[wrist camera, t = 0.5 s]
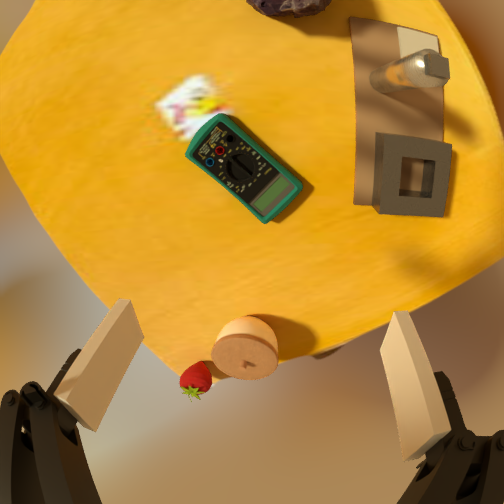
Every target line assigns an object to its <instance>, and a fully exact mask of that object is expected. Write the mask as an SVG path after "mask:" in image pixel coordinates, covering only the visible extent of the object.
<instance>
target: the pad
mask: <svg viewBox="0 0 504 504" xmlns="http://www.w3.org/2000/svg"><path fill="white" fill-rule="evenodd" d="M397 31H398V38H399V47H400V56H401V58H402V57H405V56H407V55H410V54H412V53H415V52H417V51H420V50H423V49H432V50H435V51H437V52H438V53H439V49H438V41H437V37H435V36H432V35H429V34H425V33H422V32H418V31H414V30H411V29H407V28H402V27H397Z"/></svg>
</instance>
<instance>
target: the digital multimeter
mask: <svg viewBox="0 0 504 504" xmlns="http://www.w3.org/2000/svg"><path fill="white" fill-rule="evenodd" d="M225 124H226V125H225ZM231 129H232V130H231ZM210 131H211V132H210ZM237 134H238V135H237ZM244 140H245V141H244ZM200 143H201V144H200ZM252 147H253V148H252ZM247 154H248V155H247ZM260 154H261V155H260ZM185 156H186V158H188V159H189V160H190V161H192V162H193V163H194V164H196V165H197V166H198V167H200V168H201V169H202V170H204V171H205V172H206V173H207V174H209V175H210V176H211V177H212V178H214V179H215V180H216V181H217V182H218V183H220V184H221V185H222V186H223V187H224V188H226V189H227V190H228V191H229V192H230V193H231V194H232V195H233V196H235V197H236V198H237V199H238V200H239V201H240V202H241V203H242V204H243V205H244V206H245V207H246V208H247V209H249V210H250V211H251V212H252V213H253V214H254V215H255V216H256V217H257V218H258V219H259V220H260V221H261V222H262V223H264V224H267V223H268V222H269V221H271V220H272V219H273V218H274V217H276V216H277V215H278V214H279V213H280V212H281V211H283V210H284V209H285V208H286V207H287V206H288V205H289V204H290V203H291V202H292V200H293V199H294V198H295V197H296V196H297V195H298V194H299V193H300V191H301V190H302V189H303V185H302V182H301V181H300V180H299V179H298V178H296V177H295V176H294V175H293V174H292V173H291V172H290V171H288V170H287V169H286V168H285V167H284V166H282V165H281V164H280V163H279V162H278V161H277V160H276V159H274V158H273V157H272V156H271V155H270V154H269V153H268V152H266V151H265V150H264V149H263V148H262V147H261V146H259V145H258V144H257V143H256V142H255V141H254V140H253V139H252V138H251V137H250V136H249V135H247V134H246V133H245V132H244V131H243V130H242V129H241V128H240V127H239V126H238V125H236V124H235V123H234V122H233V121H232V120H231V119H230V118H229V117H228V116H227V115H226V114H223V113H220V114H217V115H216V116H214V117H213V118H212V119H210V120H209V121H208V122H207V123H205V124H204V125H203V126H202V127H201V128H200V129H199V130H198V132H197V133H196V134H195V135H194V137H193V139H192V141H191V142H190V144H189V147H188V149H187V151H186V153H185ZM270 163H271V164H270Z"/></svg>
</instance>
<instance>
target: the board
mask: <svg viewBox="0 0 504 504" xmlns="http://www.w3.org/2000/svg"><path fill="white" fill-rule="evenodd" d="M349 24H350V32H351V41H352V52H353V64H354V79H355V102H356V160H355V185H354V201H353V203H354V205H372V195H373V182H374V165H375V132H381V133H391V134H399V135H406V136H413V137H420V138H426V139H432V140H438V141H443V86H439V87H429V88H419V89H411V90H404V91H397V92H390V93H379V92H377V91H376V90H374V89H373V88H372V86H371V84H370V81H369V76H370V73H371V72H372V71H373V70H375V69H377V68H379V67H381V66H384V65H386V64H388V63H391V62H393V61H395V60H398V59H400V58H401V56H400V47H399V38H398V31H397V27H402V28H407V29H411V30H414V31H418V32H422V33H425V34H429V35H432V36H435V37H437V41H438V36H437V35H433V34H430V33H427V32H423V31H420V30H416V29H413V28H409V27H405V26H400V25H396V24H391V23H386V22H381V21H376V20H370V19H363V18H356V17H349ZM438 49H439V43H438ZM439 54H440V51H439ZM423 166H424V159H419V158H411V157H402V165H401V178H400V189H403V190H416V191H421V186H422V177H423Z"/></svg>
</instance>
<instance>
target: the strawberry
mask: <svg viewBox="0 0 504 504" xmlns="http://www.w3.org/2000/svg"><path fill="white" fill-rule="evenodd" d="M211 385H212V376H211V373H210V371H209V370H208V368H207V367H206V366H205V364H204V362H202V361H199V362H197V363H196V364H194V365H192V366H191V367H189V368H188V369H186V370H185V372H184V373H183V374H182V376H181V377H180V386H181V388H182V389H183V390H184V391H185V392H183V394H189V395H190V394H191V396H192V397H193V396H195V397H196V398H198V399H199V400H200V398H199V396H198V395H199V394H203V393H205V392H207V391H208V390H209V389H210V387H211ZM191 402H192V401H191Z"/></svg>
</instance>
